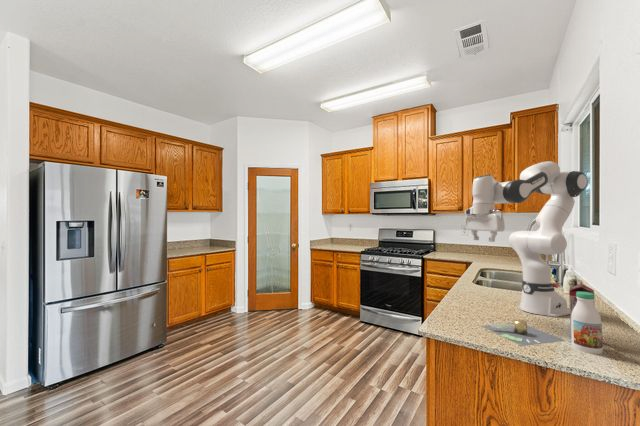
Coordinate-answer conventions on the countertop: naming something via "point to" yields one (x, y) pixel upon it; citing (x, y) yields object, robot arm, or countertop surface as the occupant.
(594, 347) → the milk bottle
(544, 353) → the countertop surface
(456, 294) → the countertop surface
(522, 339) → the dial board
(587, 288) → the milk carton
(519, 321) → the tuner knob with pointer
